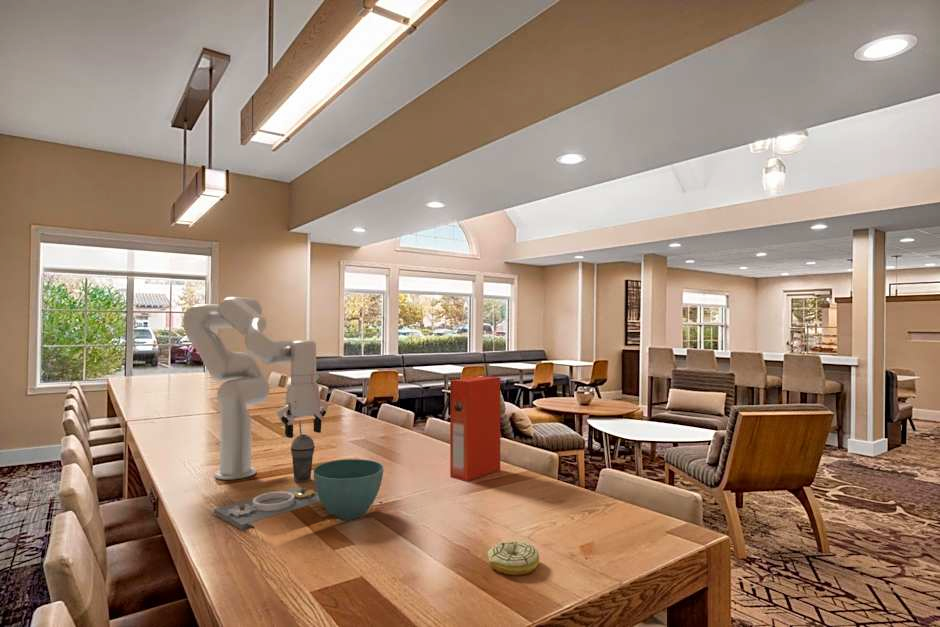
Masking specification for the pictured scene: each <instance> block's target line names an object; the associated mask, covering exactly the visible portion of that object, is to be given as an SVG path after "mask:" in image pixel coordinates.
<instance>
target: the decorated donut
mask: <svg viewBox="0 0 940 627" xmlns="http://www.w3.org/2000/svg"><path fill="white" fill-rule="evenodd" d="M487 556H488V564H489V566H490V568H491V569H493V570H496V572H497V573H502V574H504V575H510V576H524V575H527V574H531V573H532V572H534V570H535V569H536V567H537V566H538V564H539V563H540V553H539V549H537V548H536V546H533V545H531V544H529V543H526V542H522V541H521V542H520V541H505V542H501V543H499V544H495V545H494V546H492V547H491V548H489V550H488V552H487Z"/></svg>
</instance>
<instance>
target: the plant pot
mask: <svg viewBox="0 0 940 627" xmlns="http://www.w3.org/2000/svg"><path fill="white" fill-rule="evenodd" d="M312 472H313V482H314V487H315V490H316V491H315V492H316V493H317V494H318V496H319V498H320V501H321V502H320V503H321V504H322V506H323V507H324V508H325V510H326V511H327V512H328V513H329V515H333V518H334V519H337V520H341V519H342V520H344V521H346V520H348V519H350V520H354V518H355V519H359V518H361V517H362V516H364V515H365V513H366V512H367V511H368V510H369V508H371V506H372V505H373V503H374V501H375V499H376V498H377V496H378V493H379V491H380V489H381V486H382V481H383V475H384V465H383V464H382V463H380V462H378V461H375V460H370V459H363V458H362V459H359V458H357V459H355V458H353V459H352V458H351V459H349V458H347V459H338V460H332V461H328V462H324V463H322V464H321V463H320V464H319V465H317V466H315V467H314V468H313V471H312ZM342 520H341V521H342ZM348 521H349V520H348Z"/></svg>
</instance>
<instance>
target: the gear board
mask: <svg viewBox="0 0 940 627" xmlns="http://www.w3.org/2000/svg"><path fill="white" fill-rule="evenodd" d="M302 489H305V487H302V486H297V487H292V488H287V489H284V490H281V491H280V490H279V491H273V492H272V491H271V492H265V493H262V494H259V495H257V496H255V497H253V498H250V499H246V500H242V501H239V502H236V503H235V502H234V503H230V504H228V505H222V506H220V507H216V508H213V515H214V514H216V515H217V516H216V515H215V516H216V517H218V516H219V517H220V519H221V518H222V519H221V520H223V519H224V520H225V522H226V521H227V522H226V523H228V524H229V525H231V526H233V527H235V528H237V529H238V530H240V531H242V532H243V531H246V530H250V529H253V528H254V526H253V525H251V524H250V523H253V522H257V521H259V520H263V519H266V518H271V517H274V516H277V515H281V514H283V513H287V512H291V511H294V510H298V509H302V508H304V507H307V506H311V505H315V504H318V503H322V502H321V501H320V498H319V496H318V494H317V492H316V495H315V496H312V497H311V498H309V499H307V498H305V499H302V500H298V499H294V494H292V493H291V492H295V490H302ZM242 505H249V506H256V513H251V514H250V516H240V517H238V518H235V516H230V517H229V516H228V513H227V511H228V509H232V508H234V506H242ZM219 517H218V518H219ZM224 520H223V521H224Z"/></svg>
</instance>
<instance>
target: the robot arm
mask: <svg viewBox="0 0 940 627" xmlns="http://www.w3.org/2000/svg"><path fill="white" fill-rule="evenodd" d="M262 311H263V309H262V306H261V304H260V302H259V301H257V300H256V298H255V299H254V298H252V297H246V296H245V297H243V296H242V297H241V296H228V297H226V298H223V299H222V300H220V301H219V303H218V304H217V303H214V304H213V303H200V304H194V305H192V306H190V307H188V308H187V309H186V311H185V312H184V315H183V319H182V322H183V323H182V324H183V330H184V333H185V335H186V337H187V339H188V341H189V342H190V343H191V344H192V346H193V347H194V348H195V350H196V351H197V353H198V355H199V357H200V359H201V361H202V363H203V364H204V366H205V368H206V370H207V372H208V373H209V375H210V377H211V378H212V379H213V380H215V381H219V382H222V381H223V383H222V384H221V385H220V386H219V387H218V389H217V394H216V395H217V397H216V398H217V403H218V408H219V416H220V417H219V424H220V425H219V426H220V427H219V428H220V429H219V430H220V432H219V433H220V434H219V435H220V436H219V440H220V442H219V443H220V444H219V469H218V470H216V471H215V472H214V477H215V478H216V479H218V480H227V481H229V480H238V479H243V478H248V477H251V476H253V475H255V474H256V472H257V469H256V467H254V466H252V438H253V437H252V429H253V428H252V427H253V426H252V424H253V423H252V422H253V421H252V416H251V414H250V412H249V410H248V408H247V407H249V406H254V405H259V404H262V403H264V402H266V401H267V399H268V398H269V396H270V393H271V392H270V385H269V383H268V380H267V378H266V377H265V375H264V374H263V371H262V370H261V368H260V367H259V365H258V363H257V361H256V359H257V360H258V361H261V362H262V363H264V364H267V365H278V364H290V384H289V385H288V386H287V389H286V395H285V405H284V406H283V407H281V408H280V409H278V410H276V414H277V417H278V418H279V420H280V421H281V422H282V423H283V425H284V434H285V435H284V436H285V438H289V439H292V438H294V424H293V422H294V421H295V420H296V419H297V418H303V417H310V416H311V417H312V416H313V417H314V419H313V432H314V433H318V434H320V433H321V432H322V420H323V419H324V417H325V416H326V414H327V411H328V409H329V404H327V403H325V402H323V401H321V396H320V395H321V394H320V388H319V384H318V383H317V380H319V379H320V375H319V374H317V343H316V342H315V341H314V340H306V339H305V340H304V339H303V340H298V339H297V340H296V339H270V338H269V337H267V336H266V335H264V331H265V330H266V327H267V320H266V318H265V317H264V316H262V313H263V312H262ZM231 328H234V330H236V331H238V333H240V334H241V335H242V336H243V337H244V338H243V339H244V340H243V341H244V343H245V348H246V349H247V351H248V352H249V353H250V354H249V353H247V352H245V351H231V350H229V349H228V347H227V346H226V344H225V341H223V339H222V338H221V337H220V336H219V335H218V334H217V333H215V332H214V331H213V329H231ZM251 354H252V355H251ZM254 357H255V358H256V359H255V358H254Z"/></svg>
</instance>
